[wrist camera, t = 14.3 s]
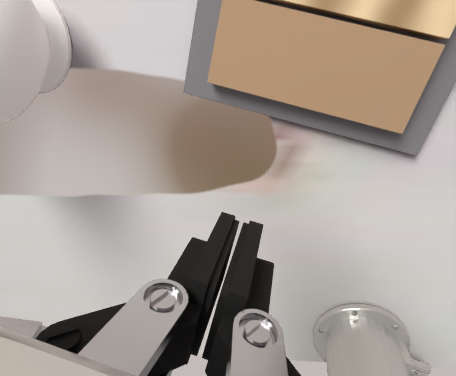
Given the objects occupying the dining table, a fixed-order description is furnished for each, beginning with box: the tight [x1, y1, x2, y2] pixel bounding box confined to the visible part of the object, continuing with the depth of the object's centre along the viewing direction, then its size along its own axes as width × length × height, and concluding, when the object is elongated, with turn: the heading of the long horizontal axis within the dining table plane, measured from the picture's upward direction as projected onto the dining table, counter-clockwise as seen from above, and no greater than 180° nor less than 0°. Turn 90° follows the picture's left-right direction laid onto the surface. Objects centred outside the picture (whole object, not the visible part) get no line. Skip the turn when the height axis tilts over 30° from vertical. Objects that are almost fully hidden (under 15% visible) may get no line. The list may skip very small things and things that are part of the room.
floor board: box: [184, 0, 456, 155], centre depth 28 cm, size 26×22×3 cm
